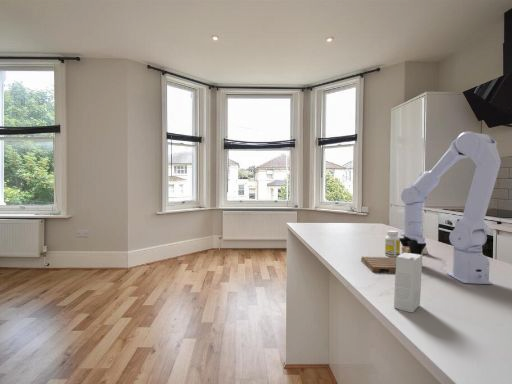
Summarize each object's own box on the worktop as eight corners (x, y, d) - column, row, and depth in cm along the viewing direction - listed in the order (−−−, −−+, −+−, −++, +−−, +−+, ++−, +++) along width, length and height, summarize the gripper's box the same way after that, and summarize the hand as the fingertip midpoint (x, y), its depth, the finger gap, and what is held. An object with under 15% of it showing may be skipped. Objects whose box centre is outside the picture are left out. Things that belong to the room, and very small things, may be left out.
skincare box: (401, 300, 75) (402, 251, 75) (421, 305, 72) (422, 254, 72) (392, 308, 71) (394, 255, 70) (414, 314, 68) (416, 259, 67)
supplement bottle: (396, 254, 125) (397, 230, 125) (401, 257, 120) (402, 232, 120) (383, 253, 126) (383, 229, 126) (387, 256, 121) (388, 232, 120)
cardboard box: (422, 266, 107) (422, 249, 107) (407, 266, 107) (407, 248, 107) (415, 262, 112) (416, 246, 112) (401, 262, 113) (401, 245, 112)
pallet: (411, 273, 98) (411, 268, 98) (373, 272, 99) (373, 266, 99) (394, 262, 112) (395, 257, 112) (361, 261, 113) (361, 256, 113)
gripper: (393, 219, 117) (392, 254, 117) (409, 224, 102) (408, 264, 103) (412, 219, 116) (411, 255, 117) (431, 224, 102) (430, 265, 102)
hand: (411, 259), depth 110 cm, fingers closed on cardboard box, 5 cm apart
